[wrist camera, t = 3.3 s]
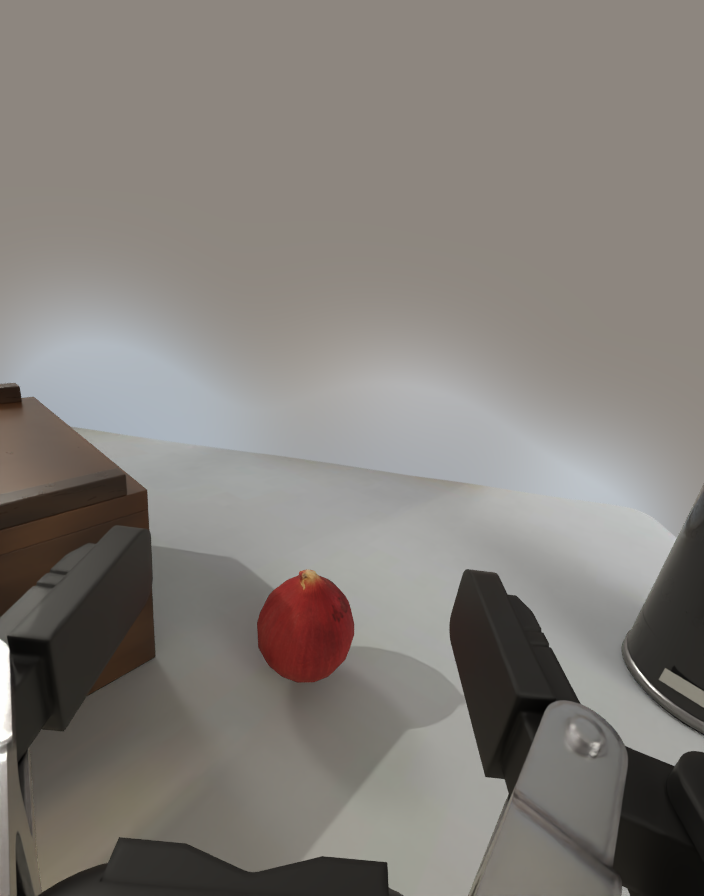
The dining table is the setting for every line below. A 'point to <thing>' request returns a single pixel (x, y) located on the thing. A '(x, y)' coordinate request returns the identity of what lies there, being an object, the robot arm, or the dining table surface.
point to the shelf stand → (61, 510)
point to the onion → (305, 628)
